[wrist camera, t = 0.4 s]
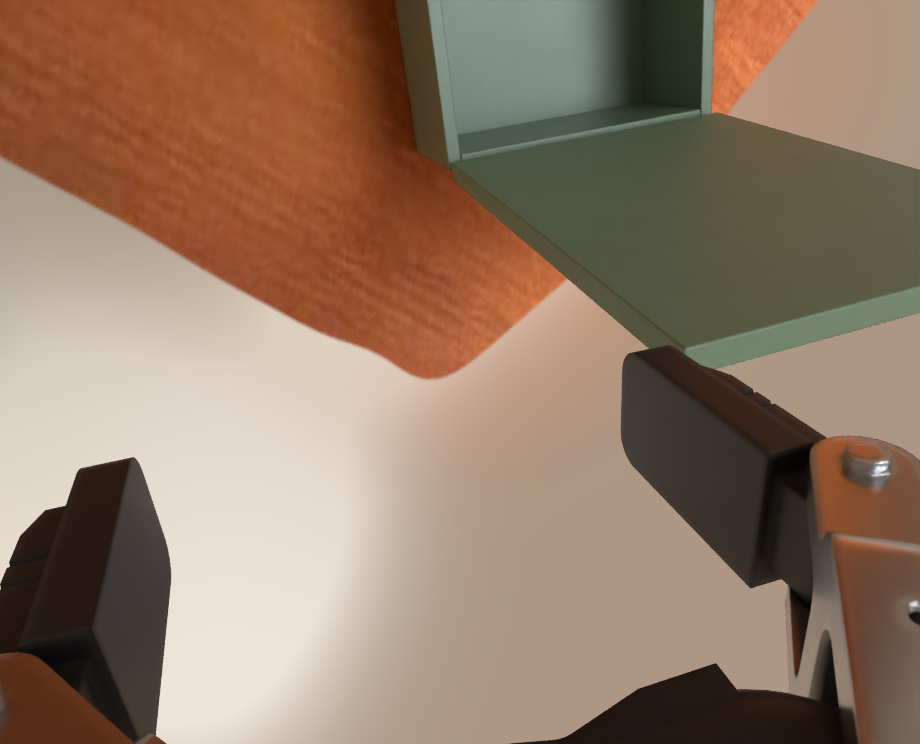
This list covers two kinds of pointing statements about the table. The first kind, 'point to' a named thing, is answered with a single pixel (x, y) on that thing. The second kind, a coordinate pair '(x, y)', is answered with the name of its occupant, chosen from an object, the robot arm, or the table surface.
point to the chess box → (550, 70)
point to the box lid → (716, 232)
